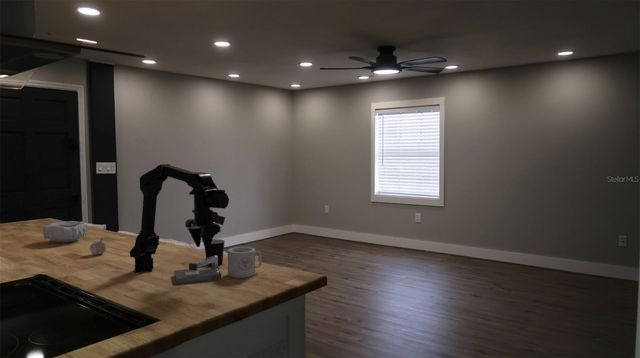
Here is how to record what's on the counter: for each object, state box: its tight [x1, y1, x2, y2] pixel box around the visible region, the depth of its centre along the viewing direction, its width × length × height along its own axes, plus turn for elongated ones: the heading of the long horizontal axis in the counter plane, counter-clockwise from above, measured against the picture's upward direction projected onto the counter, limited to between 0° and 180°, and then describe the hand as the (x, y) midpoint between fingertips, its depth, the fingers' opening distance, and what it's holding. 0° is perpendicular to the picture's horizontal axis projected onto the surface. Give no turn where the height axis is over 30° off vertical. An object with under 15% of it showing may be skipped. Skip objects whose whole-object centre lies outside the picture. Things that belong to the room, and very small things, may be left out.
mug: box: [226, 246, 262, 279], centre depth 174 cm, size 14×11×10 cm
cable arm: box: [188, 255, 219, 270], centre depth 174 cm, size 16×3×5 cm, turn 158°
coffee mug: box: [204, 238, 226, 267], centre depth 189 cm, size 12×9×10 cm
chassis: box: [173, 266, 222, 285], centre depth 169 cm, size 16×12×2 cm
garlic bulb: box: [89, 238, 107, 256], centre depth 205 cm, size 7×6×8 cm
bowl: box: [42, 220, 88, 243], centre depth 233 cm, size 21×20×10 cm
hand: (202, 248), depth 164 cm, fingers open, 8 cm apart
